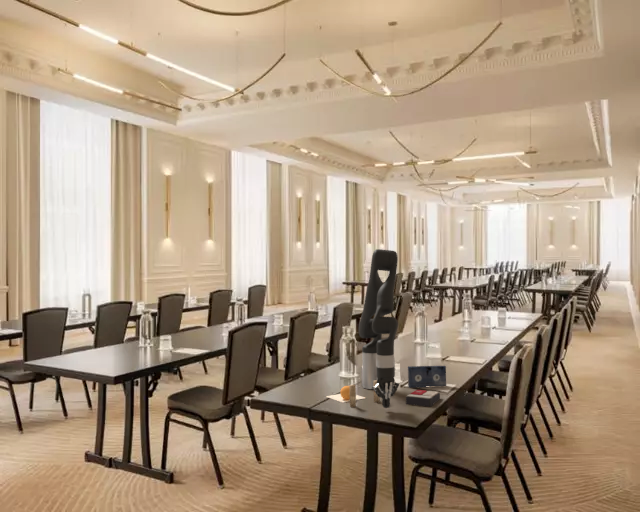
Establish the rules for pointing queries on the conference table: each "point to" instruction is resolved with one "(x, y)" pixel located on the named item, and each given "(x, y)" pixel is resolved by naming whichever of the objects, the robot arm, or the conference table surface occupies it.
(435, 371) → the vhs cassette tape
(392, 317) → the robot arm
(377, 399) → the post
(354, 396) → the post
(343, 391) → the ball
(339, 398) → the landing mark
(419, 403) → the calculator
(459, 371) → the conference table surface
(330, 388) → the conference table surface
